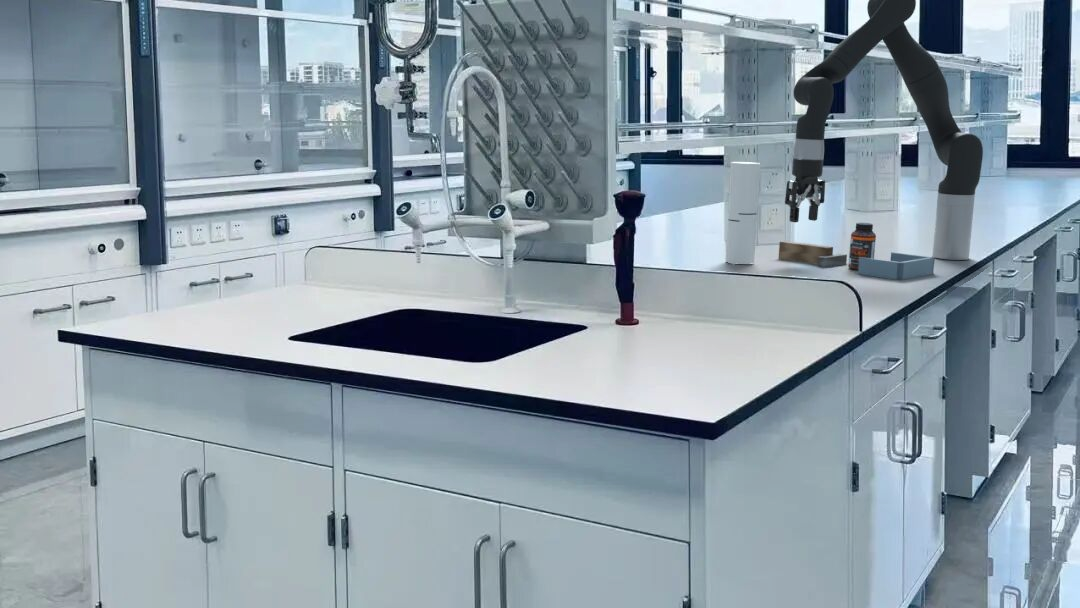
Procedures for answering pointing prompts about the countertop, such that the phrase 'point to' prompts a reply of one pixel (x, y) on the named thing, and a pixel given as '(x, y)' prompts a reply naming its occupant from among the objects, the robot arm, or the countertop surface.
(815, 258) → the scraper
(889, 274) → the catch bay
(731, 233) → the cylindrical container
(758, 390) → the countertop surface
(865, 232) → the supplement bottle
